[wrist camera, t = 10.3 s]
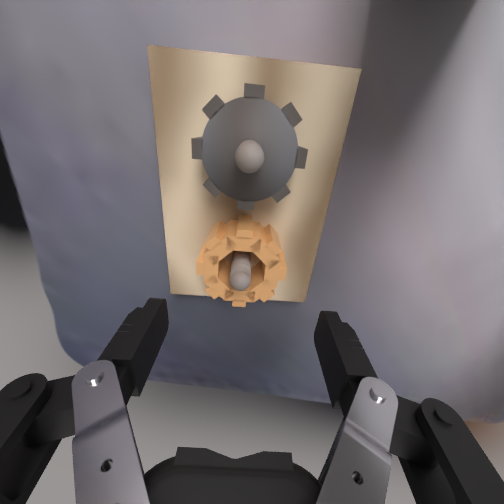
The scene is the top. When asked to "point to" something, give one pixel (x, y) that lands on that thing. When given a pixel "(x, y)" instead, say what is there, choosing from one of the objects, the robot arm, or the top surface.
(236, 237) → the gear
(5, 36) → the top surface
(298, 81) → the gear board
